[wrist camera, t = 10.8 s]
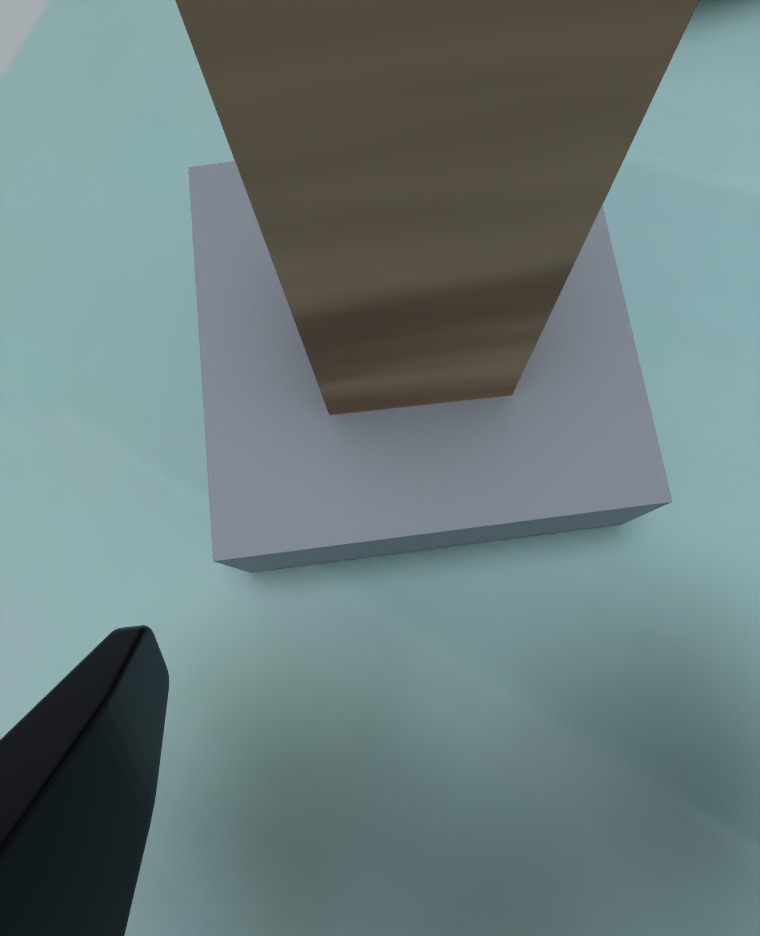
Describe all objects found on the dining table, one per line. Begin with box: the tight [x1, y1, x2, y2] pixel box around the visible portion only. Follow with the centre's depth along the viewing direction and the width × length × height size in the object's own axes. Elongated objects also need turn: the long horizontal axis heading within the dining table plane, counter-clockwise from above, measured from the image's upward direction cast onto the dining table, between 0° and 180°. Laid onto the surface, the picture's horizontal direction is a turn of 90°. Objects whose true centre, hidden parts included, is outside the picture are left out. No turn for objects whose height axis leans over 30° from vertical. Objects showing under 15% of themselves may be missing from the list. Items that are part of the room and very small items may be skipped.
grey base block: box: [189, 161, 672, 572], centre depth 20 cm, size 12×12×4 cm
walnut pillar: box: [176, 0, 699, 415], centre depth 12 cm, size 5×5×13 cm
